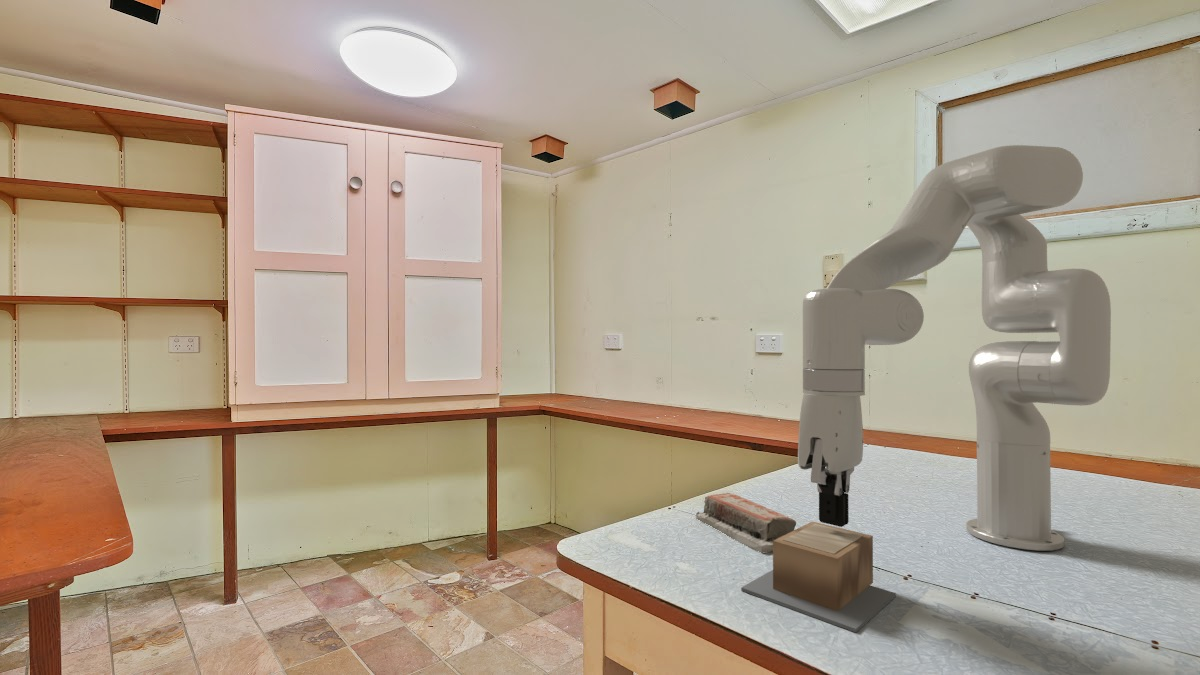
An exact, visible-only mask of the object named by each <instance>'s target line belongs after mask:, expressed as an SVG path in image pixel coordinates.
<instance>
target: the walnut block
mask: <svg viewBox="0 0 1200 675" xmlns="http://www.w3.org/2000/svg"><path fill="white" fill-rule="evenodd" d="M873 548H874V536H873V535H871V534H866V533H863V532H858V531H854V530H849V529H846V528H842V527H841V528H840V527H839V526H834V525H830V524H826V523H822V522H817V521H809V522H808V523H806V524H805V525H803V526H800V527H798V528H795V529H794V531H792V532H790V533H788V534H786V535H784V536H782V537H780V538H778V539H776V540H774V541H773V551H772V570H773V589H774V590H777V591H780V592H783V593H786V594H789V595H792V596H795V597H797V598H800V599H803V600H806V601H809V602H812V603H815V604H818V605H820V606H823V607H826V608H829V609H832V610H835V611H839V610H840V609H841V608H842V607H844V606H845V605H846V604H847V603H849V602H850V601H851V600H852V599H853V598H855V597H856V596H857V595H858V594H860V593H861V592H862V591H863V590H865V589H866V588H867V587H868V586H872V584H873V583H874V549H873Z"/></svg>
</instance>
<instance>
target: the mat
mask: <svg viewBox="0 0 1200 675" xmlns="http://www.w3.org/2000/svg"><path fill="white" fill-rule="evenodd" d="M740 589H741V591H742V592H744V593H746V594H749V595H752V596H755V597H758V598H760V599H763V600H766V601H769V602H771V603H774V604H777V605H779V606H782V607H785V608H787V609H791V610H793V611H796V612H799V613H802V614H804V615H807V616H809V617H812V618H815V619H818V620H819V621H820V620H821V621H822V622H823V621H824V622H826V623H828V624H831V625H834V626H836V627H840V628H841V629H842V628H843V629H845V630H847V631H850V632H853V633H857V632H858V631H860V630H861V629H862V628H863V627H864V626H865V625H866V624H867V623H868V622H870V620H872V619H873V617H875V616H876V615H877V614H878V613H880V611H881V610H882V609H884V608H885V607H886V606H887V605H888V604H889V603H890V602H891V601H893V599H895V598H896V595H897V594H896V592H893V591H891V590H890V591H889V590H887V589H884V588H883V589H882V588H880V587H876V586H874V585H870V586H868V587H867V588H866V589H865V590H863V591H862V592H861V593H860V594H858V595H857V596H856V597H855V598H853V599H852V600H851V601H850V602H849V603H847V604H846V605H845V606H844V607H842V608H841V609H840V610H839V611H835V610H832V609H829V608H826V607H823V606H820V605H818V604H815V603H812V602H809V601H806V600H803V599H800V598H797V597H795V596H792V595H789V594H786V593H783V592H780V591H777V590H774V589H773V569H772V570H770V571H768V572H767V573H764V574H762V575H761V576H759V577H757V578H756V579H754V580H752V581H750V582H749V583H746V584H745V585H743V586H742V587H741V588H740Z"/></svg>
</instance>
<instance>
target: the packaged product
mask: <svg viewBox="0 0 1200 675" xmlns="http://www.w3.org/2000/svg"><path fill="white" fill-rule="evenodd" d="M695 515H696V516H695V520H697V519H698V520H700V521H702V522H704V523H706V524H708V525H710V526H712V527H713V528H715V529H717V530H719V531H721V532H722V533H724V534H726V535H727V536H726V535H725V536H726V537H728V536H729V537H728V538H730V537H731V538H730V539H732V540H734V539H735V540H734V541H736V542H737V541H738V543H739V542H740V544H741V543H742V544H741V545H743V544H744V546H745V545H746V547H747V546H748V547H747V548H750V549H752V550H754V551H756V552H758V551H759V552H758V553H760V552H761V553H760V554H764V553H763V552H767V553H771V551H772V552H773V541H774V540H776V539H778V538H780V537H782V536H784V535H786V534H788V533H790V532H792V531H794V530H795V529H796V528H795V527H796V525H797V521H796V520H795V519H793V518H791V517H789V516H787V515H784V514H782V513H780V512H777V511H775V510H773V509H772V508H771V509H770V508H767V507H766V506H764V505H761V504H759V503H756V502H754V501H752V500H749V499H748V498H745V497H742V496H741V495H739V494H738V495H737V494H735V493H731V492H726V493H718V494H712V495H706V496H705V497H704V506H703V512H700V511H698V512H696V513H695ZM698 520H697V521H698ZM700 521H699V522H700ZM702 522H701V523H702ZM704 523H703V524H704ZM706 524H705V525H706ZM708 525H707V526H708ZM710 526H709V527H710ZM713 528H712V529H713ZM715 529H714V530H715ZM717 530H716V531H717ZM719 531H718V532H719ZM721 532H720V533H721ZM722 533H721V534H722ZM724 534H723V535H724Z"/></svg>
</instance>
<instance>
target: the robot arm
mask: <svg viewBox="0 0 1200 675" xmlns="http://www.w3.org/2000/svg"><path fill="white" fill-rule="evenodd" d="M1083 178H1084V173H1083V168H1082V165H1081V163H1080V161H1079V159H1078V158H1077V157H1076V155H1074V154H1073V153H1072V152H1071V151H1069V150H1068V149H1065V148H1063V147H1059V146H1046V145H1045V146H1044V145H1043V146H1041V145H1040V146H1039V145H1022V144H1021V145H1019V144H1017V145H1016V144H1013V145H1011V144H1010V145H1002V146H997V147H994V148H990V149H987V150H983V151H980V152H977V153H973V154H970V155H967V156H965V157H964V156H963V157H960V158H957V159H953V160H951V161H947V162H944V163H942V164H939V165H938V166H936V167H934V168H933V169H932V170H930V171H929V172H928V173H927V174H926V175H925V176H924V178H922V181H921V182H920V183H919V185H918V186H917V188H916V190H915V191H914V192H913V194H912V196H911V198H910V199H909V200H908V202H907V203H906V206H905V207H904V209H903V210H902V212H901V213H900V215H899V216H898V217H897V219H896V221H895V223H894V224H893V225H892V228H891V229H889V230H888V231H887V232H886V233H885V234H883V235H882V236H880V237H879V238H877V239H876V240H875V241H873V242H872V243H871V244H870V245H868V246H867V247H866V248H864V249H863V250H862V251H861V252H859V253H858V254H857V255H855V256H854V257H853V258H851V259H850V260H849V261H848V262H847V263H845V265H843V266H842V267H841V268H840V269H839V270H838V271H837V273H835V275H834V276H833V278H832V279H831V281H830V282H829V284H828V285H827V287H826V288H819V289H814V290H809V291H808V292H807V293H806V294H805V295H804V297H803V300H802V393H803V396H802V400H801V407H800V415H799V425H798V426H799V427H798V438H797V439H798V443H797V444H798V446H797V465H798V467H799V468H800V469H801V470H810V469H811V471H810V472H811V474H810V483H813V484H816V490H817V492H818V520H819V523H821V524H826V525H830V526H834V527H838V528H840V527H841V528H842V527H844V526H846V525H848V524H849V521H850V520H849V519H850V518H849V491H850V486H851V483H850V482H851V475H852V474H853V472H854V471H855V467H857V466H859V465H860V464H861V463H862V461H863V456H864V431H863V430H864V428H863V427H864V426H863V410H862V401H861V397H863V396H866V387H865V386H866V381H865V380H866V374H865V373H866V365H865V364H866V363H865V362H866V361H865V358H866V357H865V356H866V355H865V354H866V352H865V351H866V350H865V349H866V346H865V345H867V346H892V345H899V344H904V343H906V342H909V341H910V340H911V339H914V337H915V336H917V335H918V333H919V332H920V331H921V329H922V327H923V323H924V319H925V318H924V317H925V316H924V315H925V314H924V310H923V306H922V305H921V303H920V301H919V300H918V299H917V298H916V297H915V296H914V295H913V294H911V293H910V292H908V291H905V290H903V289H897V288H889V287H892V286H894V285H896V284H898V283H901V282H903V281H906V280H907V279H910V278H913V277H915V276H918V275H920V274H923V273H925V272H926V271H929V270H931V269H932V268H936V266H938V265H940V264H941V263H943V262H944V261H945V260H946V259H947V258H948V257H949V256H950V254H951V253H952V251H953V249H954V247H955V245H956V243H957V242H958V240H959V238H960V237H961V236H962V233H963V232H964V231H965V228H966V226H967V227H968V228H969V230H970V231H971V232H972V234H973V235H974V236H975V238H976V240H977V242H978V243H979V247H980V251H981V260H982V261H981V263H982V266H981V268H982V269H981V270H982V271H981V272H982V273H981V316H982V320H983V323H984V324H985V326H986V327H987V328H988V329H990V330H992V331H995V332H998V333H1007V334H1008V333H1009V334H1030V333H1031V334H1035V333H1037V334H1039V333H1041V334H1042V333H1043V334H1044V333H1047V334H1049V333H1058V336H1059V340H1058V341H1055V340H1054V341H1049V340H1048V341H1037V340H1036V341H1035V340H1029V341H1028V340H1027V341H1026V340H1024V341H1022V340H1019V341H1013V340H1012V341H1007V340H1006V341H997V342H996V341H995V342H990V343H986V344H984V345H981V346H980V347H979V348H978V349H976V350H975V351H974V352H973V353H972V354H971V356H970V359H969V362H968V376H969V379H970V384H971V388H972V393H973V399H974V404H975V405H974V406H975V415H976V490H977V491H976V493H977V494H976V495H977V496H976V500H977V502H976V503H977V504H976V507H977V511H976V512H977V513H976V514H977V518H972V519H970V520H968V521H966V524H965V526H966V528H965V529H966V531H967V532H968V533H969V534H970V535H971V536H973V537H975V538H978V539H980V540H983V541H986V542H988V543H993V544H995V545H999V546H1004V547H1008V548H1013V549H1021V550H1026V551H1039V552H1040V551H1043V552H1045V551H1047V552H1048V551H1058V550H1061V549H1063V548H1064V547H1065V538H1064V537H1063V536H1062V535H1061V534H1060V533H1059V532H1057V531H1054V530H1052V515H1051V514H1052V503H1051V501H1052V499H1051V496H1052V494H1051V492H1052V490H1051V432H1050V427H1049V426H1048V423H1047V421H1046V418H1044V416H1043V415H1042V413H1041V412H1040V411H1039V410H1038V408H1037V407H1036V405H1035V404H1036V403H1038V404H1039V403H1040V404H1051V405H1053V404H1054V405H1061V406H1062V405H1064V406H1080V407H1081V406H1090V405H1094V404H1096V403H1098V402H1100V401H1101V400H1102V399H1103V398H1104V396H1105V395H1106V394H1107V391H1108V388H1109V384H1110V378H1111V376H1110V375H1111V333H1112V332H1111V330H1112V329H1111V328H1112V327H1111V322H1112V314H1111V313H1112V312H1111V311H1112V308H1111V307H1112V306H1111V298H1110V297H1111V296H1110V292H1109V289H1108V287H1107V285H1106V283H1105V281H1104V280H1103V278H1102V277H1101V276H1100V275H1099V274H1098V273H1096V272H1095V271H1093V270H1090V269H1085V268H1065V269H1056V270H1049V268H1048V243H1047V241H1046V238H1045V236H1044V235H1043V233H1042V232H1041V230H1039V229H1038V228H1037V227H1036V226H1035V225H1034V224H1033V223H1032V222H1030V221H1029V220H1028V219H1026V218H1025V217H1023V214H1028V213H1033V212H1037V211H1043V210H1049V209H1053V208H1057V207H1062V206H1064V205H1066V204H1068V203H1070V202H1071V201H1072V200H1074V198H1075V197H1076V196H1077V195H1078V194H1079V192H1080V191H1081V188H1082V184H1083ZM1034 403H1035V404H1034Z"/></svg>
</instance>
